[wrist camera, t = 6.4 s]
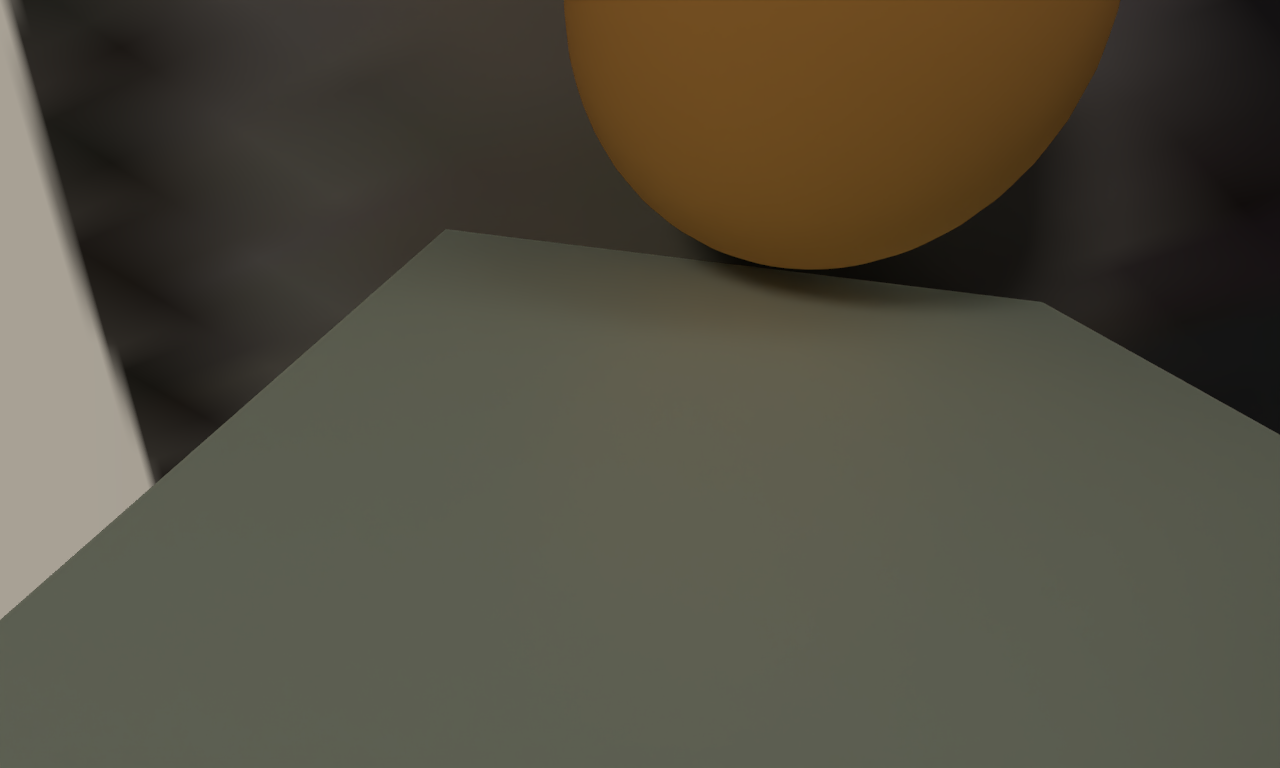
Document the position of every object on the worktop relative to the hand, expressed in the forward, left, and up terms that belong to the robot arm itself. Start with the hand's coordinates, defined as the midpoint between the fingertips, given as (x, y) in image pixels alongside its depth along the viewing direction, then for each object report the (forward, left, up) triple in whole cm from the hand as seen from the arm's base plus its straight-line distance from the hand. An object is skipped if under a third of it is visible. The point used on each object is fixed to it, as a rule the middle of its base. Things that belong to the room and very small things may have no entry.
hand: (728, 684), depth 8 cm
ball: (+7, 0, -2) cm, 7 cm away
